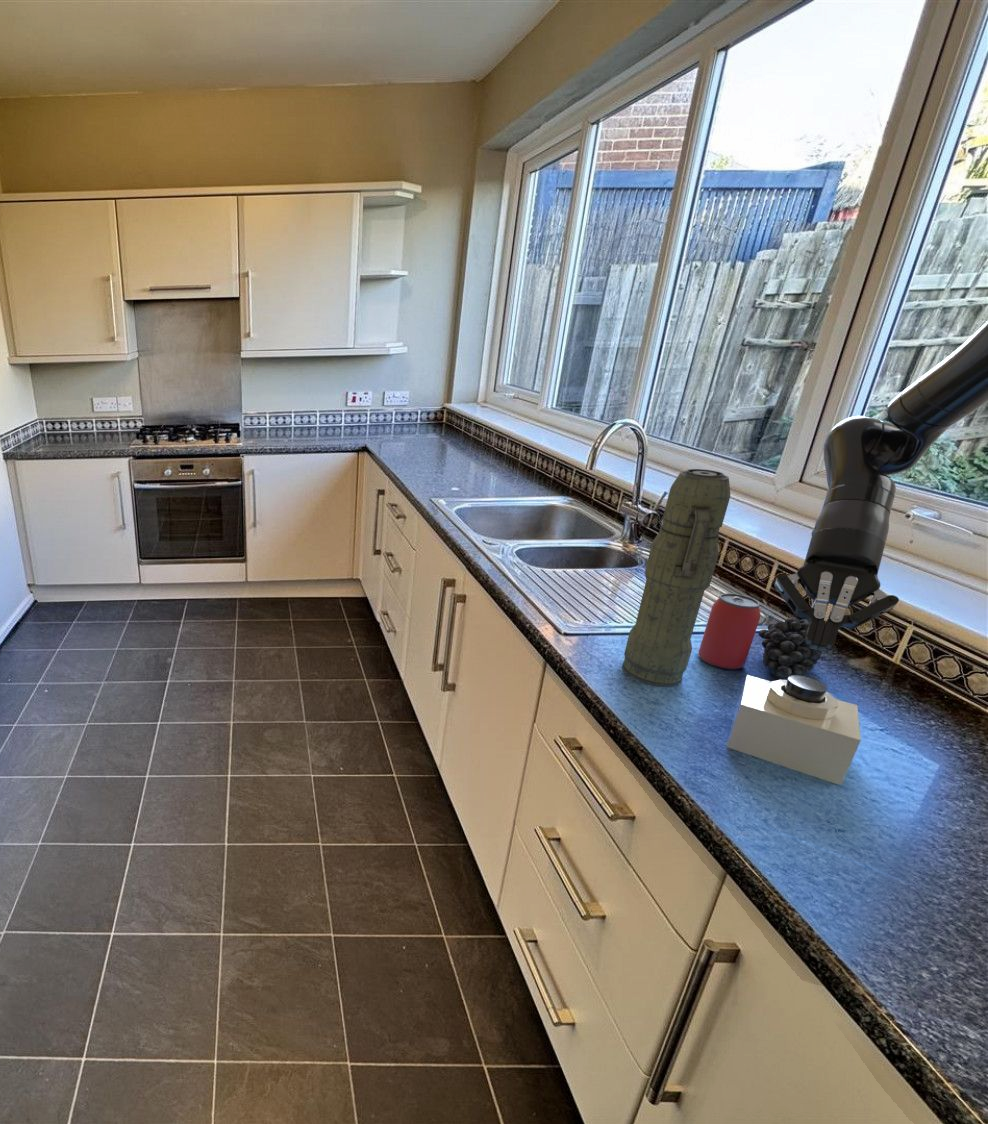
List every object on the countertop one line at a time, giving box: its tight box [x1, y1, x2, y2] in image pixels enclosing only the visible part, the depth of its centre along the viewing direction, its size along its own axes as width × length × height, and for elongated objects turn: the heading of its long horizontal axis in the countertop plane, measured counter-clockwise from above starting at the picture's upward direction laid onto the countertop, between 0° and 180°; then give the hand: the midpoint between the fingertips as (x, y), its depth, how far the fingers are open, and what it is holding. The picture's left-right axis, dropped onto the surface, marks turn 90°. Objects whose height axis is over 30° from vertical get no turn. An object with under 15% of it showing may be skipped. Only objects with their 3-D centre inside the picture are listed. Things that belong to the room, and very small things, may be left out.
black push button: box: [783, 675, 828, 703], centre depth 83 cm, size 4×4×2 cm
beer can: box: [698, 592, 761, 670], centre depth 106 cm, size 7×7×12 cm
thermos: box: [621, 468, 731, 688], centre depth 99 cm, size 9×12×35 cm
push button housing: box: [726, 674, 862, 786], centre depth 85 cm, size 12×10×9 cm
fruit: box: [758, 617, 823, 680], centre depth 104 cm, size 9×8×15 cm
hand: (818, 648), depth 83 cm, fingers closed
